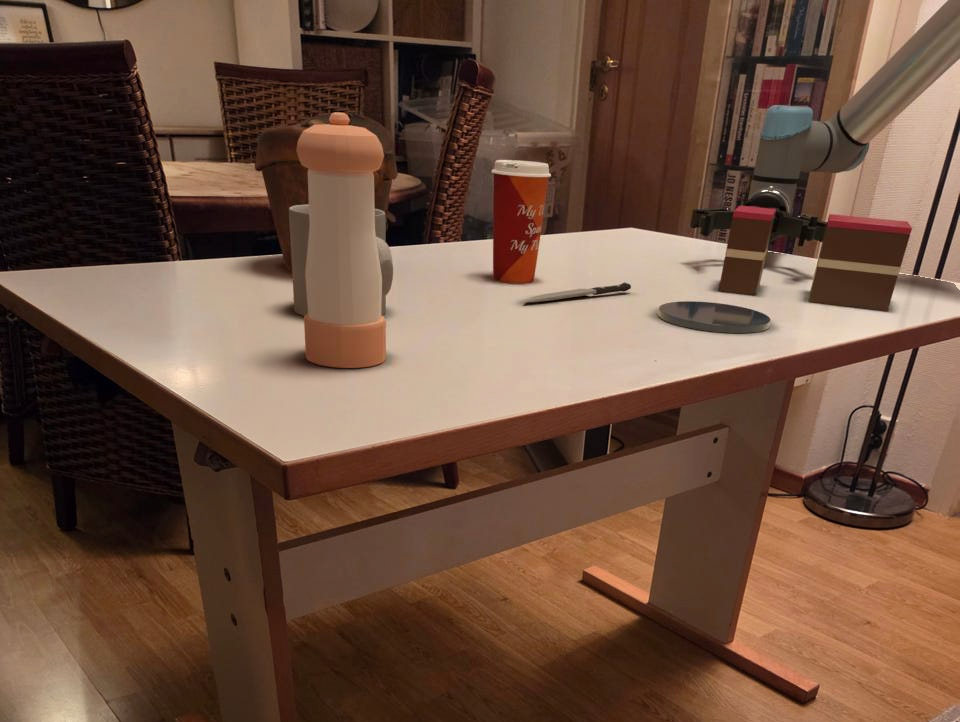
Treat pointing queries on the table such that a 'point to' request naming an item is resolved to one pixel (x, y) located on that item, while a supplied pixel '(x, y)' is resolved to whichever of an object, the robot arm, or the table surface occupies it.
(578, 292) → the chef's knife
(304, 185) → the flower pot
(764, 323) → the cake plate
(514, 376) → the table surface
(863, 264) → the cake
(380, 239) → the coffee mug
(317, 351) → the salt shaker
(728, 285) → the cake slice
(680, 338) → the table surface
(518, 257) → the paper cup
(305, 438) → the table surface
